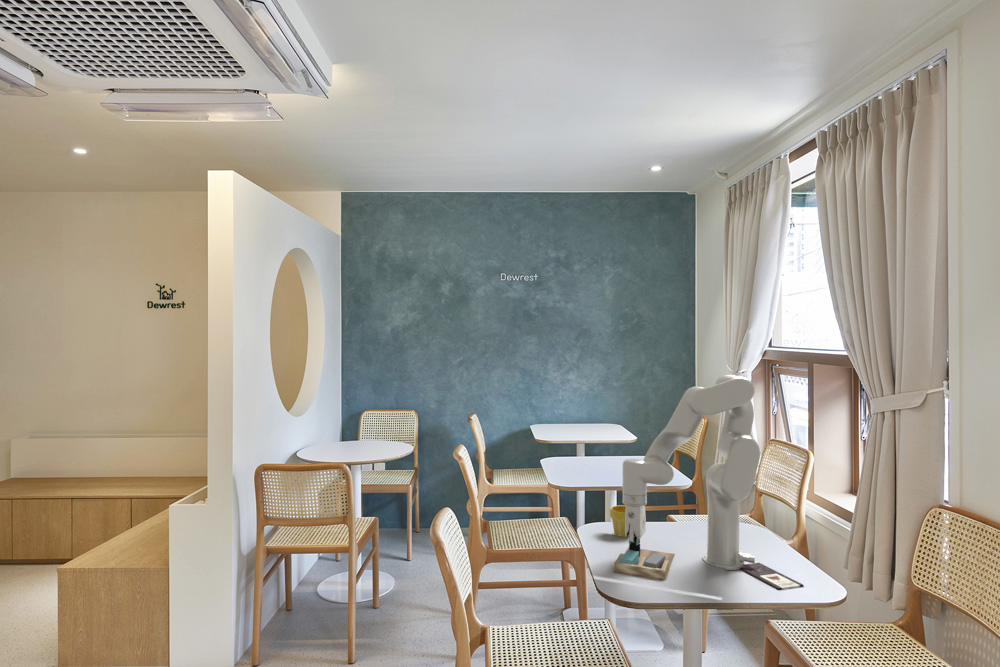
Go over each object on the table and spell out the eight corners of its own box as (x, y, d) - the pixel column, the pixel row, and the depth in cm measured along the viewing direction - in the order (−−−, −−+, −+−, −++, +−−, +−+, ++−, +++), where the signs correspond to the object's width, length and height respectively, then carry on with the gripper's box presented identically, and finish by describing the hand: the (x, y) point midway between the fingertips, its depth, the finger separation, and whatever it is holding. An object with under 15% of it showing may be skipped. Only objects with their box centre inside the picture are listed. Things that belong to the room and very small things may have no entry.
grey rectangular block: (665, 566, 184) (665, 555, 184) (656, 576, 177) (656, 564, 177) (653, 564, 186) (653, 552, 186) (644, 573, 179) (644, 561, 179)
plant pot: (643, 535, 217) (643, 508, 217) (631, 542, 209) (631, 514, 209) (617, 529, 223) (617, 503, 223) (604, 536, 215) (605, 509, 215)
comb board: (674, 556, 196) (675, 546, 196) (665, 583, 174) (665, 572, 174) (628, 549, 202) (628, 540, 202) (613, 574, 179) (613, 563, 179)
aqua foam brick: (638, 562, 187) (639, 551, 187) (632, 572, 179) (632, 560, 179) (627, 560, 189) (627, 549, 189) (620, 570, 181) (620, 558, 181)
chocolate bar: (759, 562, 190) (803, 584, 173) (759, 565, 190) (803, 588, 173) (735, 565, 187) (778, 588, 170) (735, 568, 187) (778, 591, 170)
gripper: (641, 505, 182) (641, 566, 181) (650, 494, 195) (650, 550, 195) (617, 503, 185) (617, 562, 185) (628, 492, 198) (628, 547, 198)
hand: (634, 556), depth 190 cm, fingers closed
